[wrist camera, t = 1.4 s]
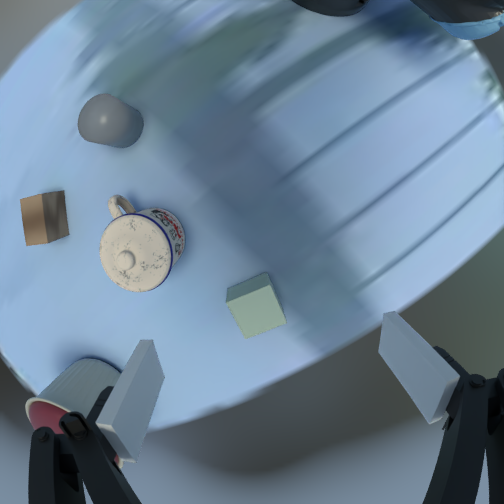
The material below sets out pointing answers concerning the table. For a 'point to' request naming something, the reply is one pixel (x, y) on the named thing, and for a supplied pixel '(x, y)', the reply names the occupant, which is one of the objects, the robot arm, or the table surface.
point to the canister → (72, 394)
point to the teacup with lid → (140, 245)
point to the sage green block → (255, 306)
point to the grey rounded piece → (109, 122)
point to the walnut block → (44, 218)
